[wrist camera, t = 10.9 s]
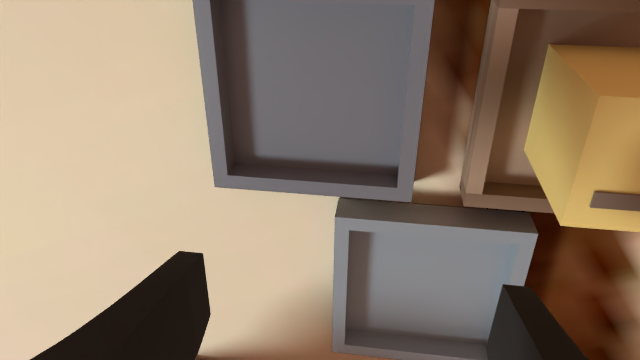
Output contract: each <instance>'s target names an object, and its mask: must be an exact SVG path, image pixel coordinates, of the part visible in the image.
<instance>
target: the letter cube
mask: <svg viewBox="0 0 640 360" xmlns="http://www.w3.org/2000/svg"><path fill="white" fill-rule="evenodd" d="M524 151H525V153H526V155H527V157H528V159H529V161H530V163H531V166H532V168H533V170H534V172H535V174H536V176H537V178H538V180H539V182H540V184H541V186H542V188H543V190H544V192H545V195H546V197H547V199H548V201H549V203H550V205H551V207H552V209H553V211H554V213H555V215H556V217H557V219H558V221H559V224H560V226H570V227H582V228H595V229H608V230H620V231H633V232H640V48H635V47H609V46H583V45H557V44H549V45H548V49H547V54H546V58H545V62H544V67H543V71H542V75H541V79H540V84H539V88H538V92H537V96H536V101H535V105H534V109H533V114H532V118H531V122H530V126H529V131H528V135H527V139H526V143H525V148H524Z"/></svg>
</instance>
